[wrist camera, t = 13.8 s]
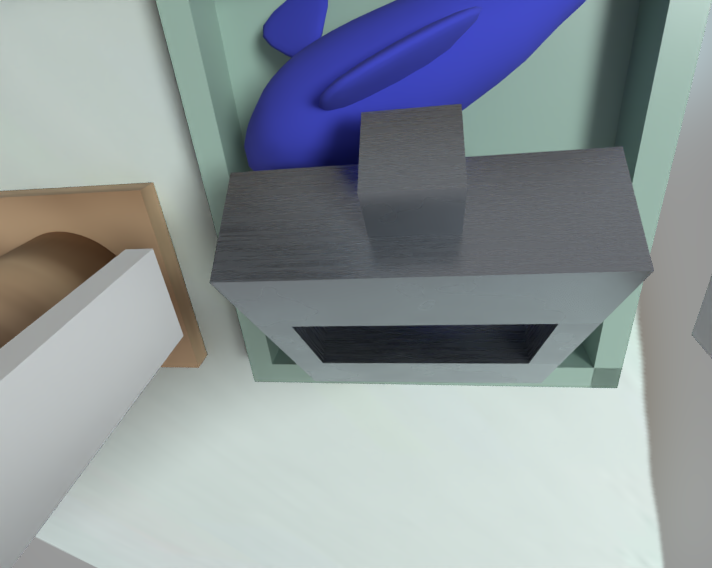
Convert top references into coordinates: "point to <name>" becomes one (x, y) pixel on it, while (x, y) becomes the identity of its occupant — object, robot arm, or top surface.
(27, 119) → the top surface
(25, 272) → the handle
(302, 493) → the top surface
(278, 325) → the gray rectangular frame
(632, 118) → the tray
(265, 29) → the fish toy
